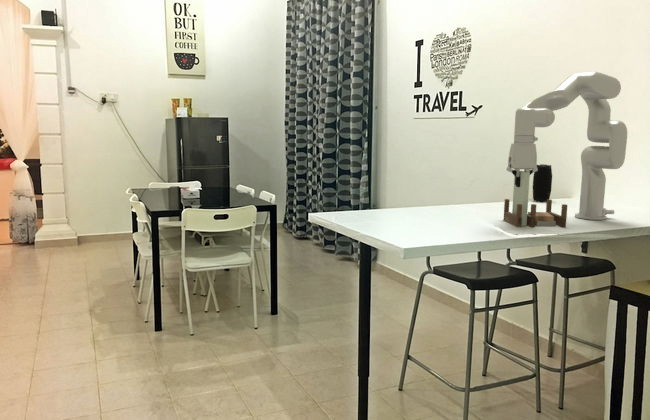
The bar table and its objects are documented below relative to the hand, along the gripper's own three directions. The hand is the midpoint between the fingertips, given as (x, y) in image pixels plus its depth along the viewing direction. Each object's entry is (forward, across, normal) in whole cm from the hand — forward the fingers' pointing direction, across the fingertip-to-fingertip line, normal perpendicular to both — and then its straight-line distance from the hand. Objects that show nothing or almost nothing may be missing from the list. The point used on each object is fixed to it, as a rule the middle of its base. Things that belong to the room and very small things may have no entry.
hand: (521, 186), depth 222 cm
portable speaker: (+16, -39, -75) cm, 86 cm away
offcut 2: (+15, -9, 0) cm, 17 cm away
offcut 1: (+13, -9, 0) cm, 16 cm away
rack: (+16, -6, 0) cm, 17 cm away
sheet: (+16, 0, 0) cm, 16 cm away
